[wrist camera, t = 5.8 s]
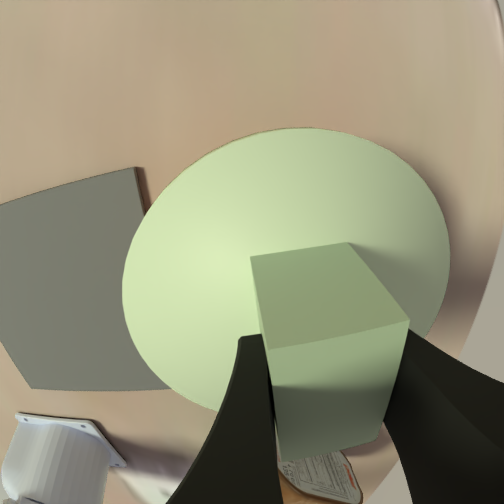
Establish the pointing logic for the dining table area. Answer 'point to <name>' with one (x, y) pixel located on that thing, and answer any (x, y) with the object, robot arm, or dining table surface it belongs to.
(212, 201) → the lid
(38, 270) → the mat
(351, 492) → the tin
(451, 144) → the dining table surface
